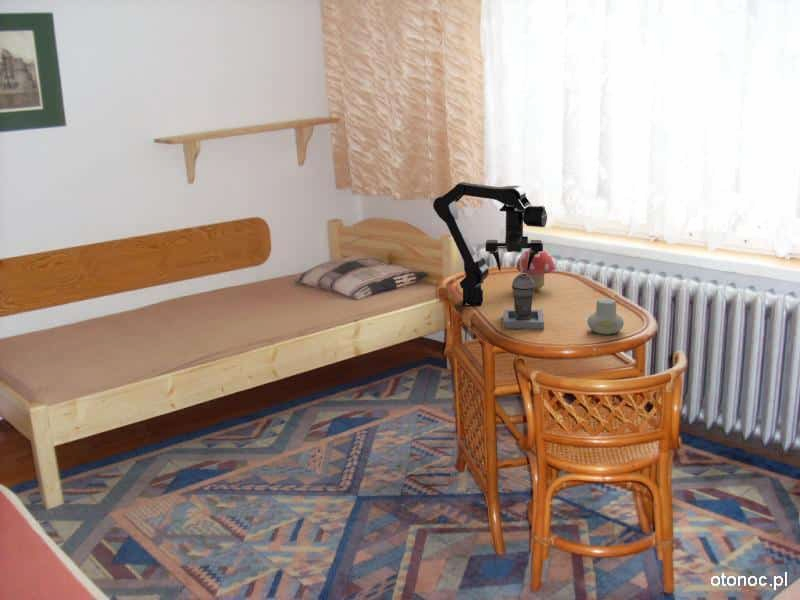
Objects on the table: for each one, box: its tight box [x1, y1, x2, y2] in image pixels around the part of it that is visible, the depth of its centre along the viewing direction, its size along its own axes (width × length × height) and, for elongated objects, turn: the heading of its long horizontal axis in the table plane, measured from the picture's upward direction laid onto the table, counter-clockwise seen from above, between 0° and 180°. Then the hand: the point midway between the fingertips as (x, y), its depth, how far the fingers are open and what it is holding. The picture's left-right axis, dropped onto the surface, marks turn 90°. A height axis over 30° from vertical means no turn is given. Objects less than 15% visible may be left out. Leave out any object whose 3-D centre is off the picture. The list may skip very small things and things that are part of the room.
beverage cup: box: [511, 260, 535, 320], centre depth 279 cm, size 7×7×20 cm
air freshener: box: [586, 297, 625, 335], centre depth 271 cm, size 11×8×10 cm
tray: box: [502, 309, 545, 331], centre depth 282 cm, size 13×13×2 cm
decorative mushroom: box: [516, 250, 555, 291], centre depth 315 cm, size 13×13×15 cm
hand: (513, 270), depth 294 cm, fingers open, 9 cm apart
